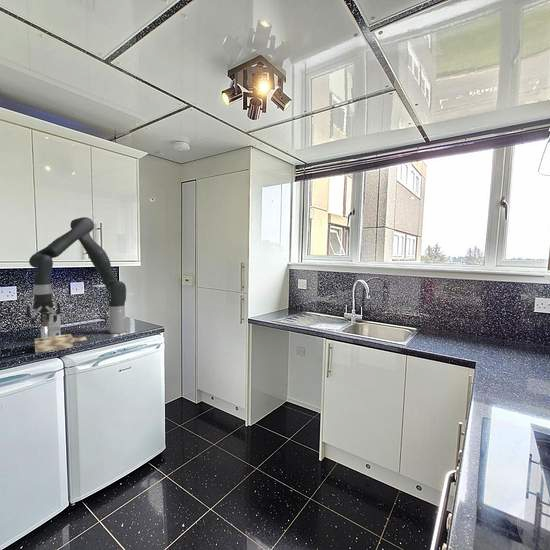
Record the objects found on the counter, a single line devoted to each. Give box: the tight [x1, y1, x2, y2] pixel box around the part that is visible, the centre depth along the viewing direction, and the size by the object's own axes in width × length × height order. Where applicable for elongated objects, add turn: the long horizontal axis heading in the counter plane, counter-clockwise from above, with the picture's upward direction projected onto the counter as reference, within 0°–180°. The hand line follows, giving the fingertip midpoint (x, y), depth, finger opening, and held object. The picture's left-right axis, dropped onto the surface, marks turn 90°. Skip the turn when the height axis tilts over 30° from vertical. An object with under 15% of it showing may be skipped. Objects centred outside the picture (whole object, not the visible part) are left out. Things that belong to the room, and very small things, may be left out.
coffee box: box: [40, 310, 62, 337], centre depth 177 cm, size 9×6×16 cm
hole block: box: [34, 333, 74, 354], centre depth 161 cm, size 16×10×5 cm, turn 130°
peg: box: [40, 325, 48, 341], centre depth 158 cm, size 3×3×12 cm
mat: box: [73, 336, 88, 343], centre depth 176 cm, size 8×7×1 cm
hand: (44, 323), depth 158 cm, fingers open, 8 cm apart
